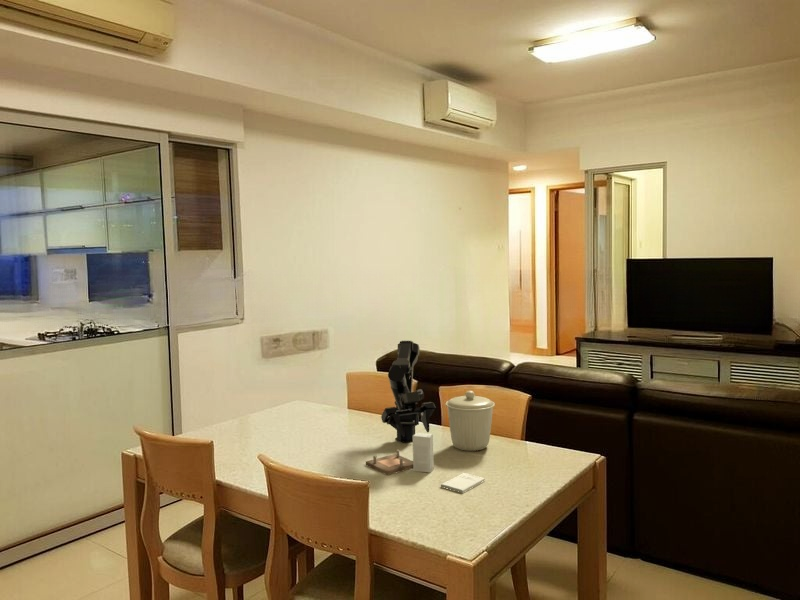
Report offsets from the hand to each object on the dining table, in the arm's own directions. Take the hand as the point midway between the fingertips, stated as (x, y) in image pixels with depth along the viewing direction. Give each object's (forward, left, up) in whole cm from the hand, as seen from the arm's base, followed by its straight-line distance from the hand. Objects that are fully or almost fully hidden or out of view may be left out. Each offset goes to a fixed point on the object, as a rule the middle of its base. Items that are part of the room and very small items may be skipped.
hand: (416, 433), depth 206 cm
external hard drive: (-1, +22, -12) cm, 25 cm away
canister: (-28, -3, -11) cm, 30 cm away
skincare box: (+1, +5, -11) cm, 12 cm away
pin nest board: (+7, -6, -11) cm, 14 cm away
